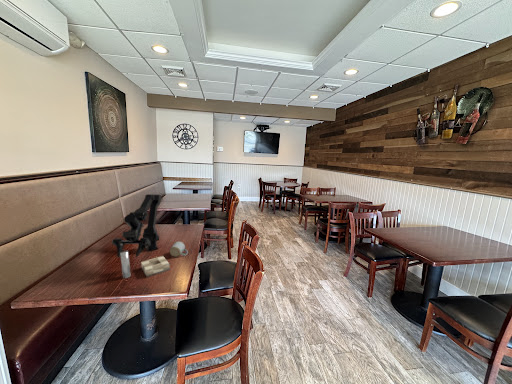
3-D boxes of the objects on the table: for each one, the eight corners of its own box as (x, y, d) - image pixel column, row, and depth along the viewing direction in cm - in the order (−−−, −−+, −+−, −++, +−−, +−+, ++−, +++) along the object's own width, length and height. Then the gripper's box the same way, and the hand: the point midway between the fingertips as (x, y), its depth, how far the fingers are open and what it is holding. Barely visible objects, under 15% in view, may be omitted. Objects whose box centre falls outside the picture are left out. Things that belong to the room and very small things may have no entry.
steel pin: (122, 276, 113) (119, 251, 111) (130, 273, 115) (127, 249, 113) (123, 279, 110) (120, 254, 108) (131, 276, 112) (128, 252, 110)
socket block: (141, 268, 121) (140, 261, 120) (163, 261, 128) (162, 255, 128) (146, 277, 112) (146, 270, 111) (169, 269, 119) (169, 263, 119)
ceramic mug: (169, 257, 134) (168, 246, 133) (174, 251, 142) (173, 241, 141) (185, 257, 134) (185, 246, 133) (189, 252, 142) (189, 241, 141)
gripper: (111, 224, 115) (101, 252, 106) (147, 224, 117) (139, 251, 108) (121, 233, 124) (112, 259, 115) (153, 232, 126) (147, 258, 117)
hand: (127, 257), depth 113 cm, fingers open, 9 cm apart
